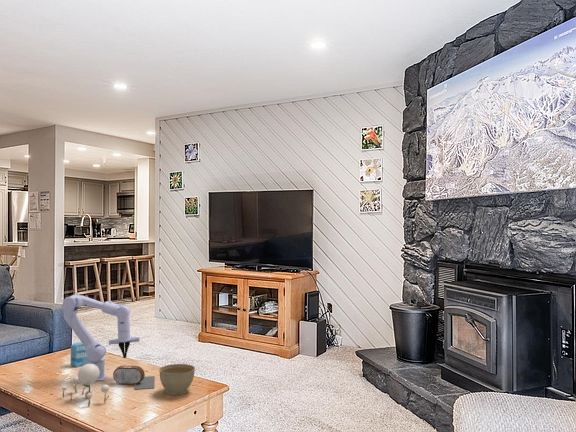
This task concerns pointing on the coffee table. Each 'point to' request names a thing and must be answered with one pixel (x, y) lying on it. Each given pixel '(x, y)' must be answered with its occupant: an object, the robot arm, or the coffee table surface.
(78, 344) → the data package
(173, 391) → the planter bowl
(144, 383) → the mat
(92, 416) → the coffee table surface
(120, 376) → the tin
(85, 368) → the figurines
